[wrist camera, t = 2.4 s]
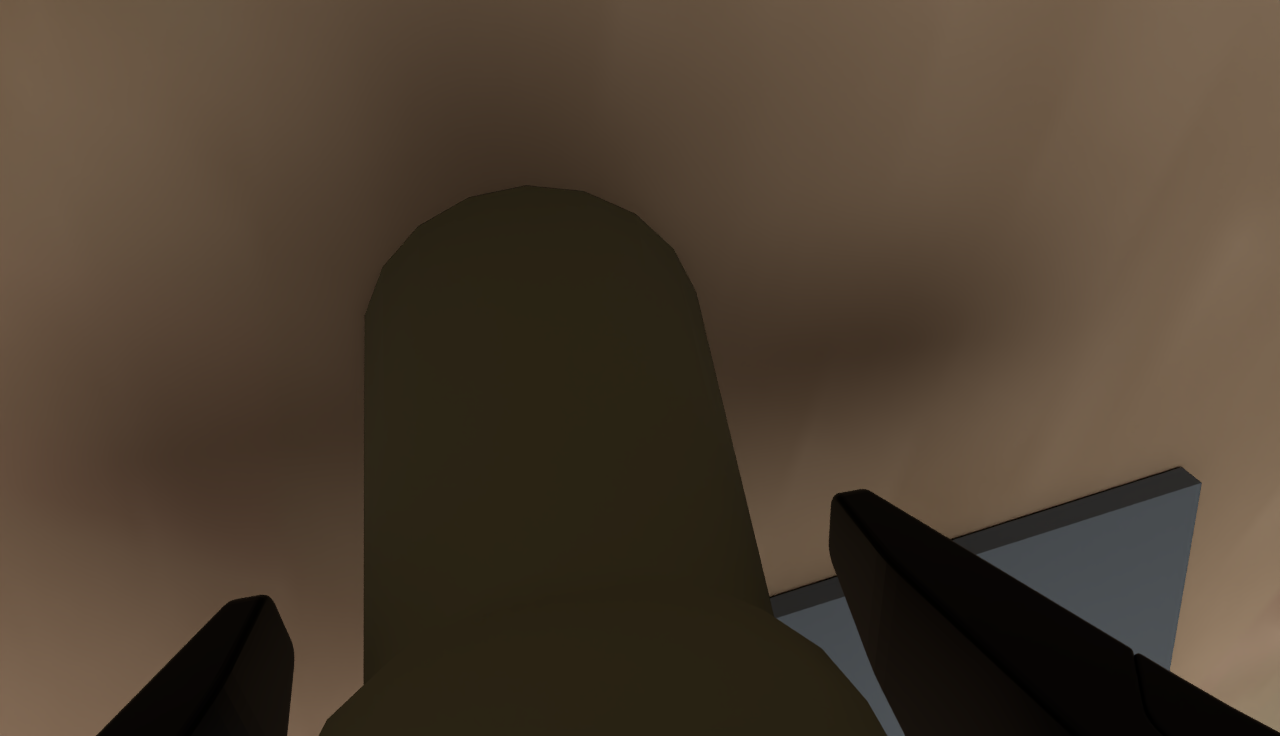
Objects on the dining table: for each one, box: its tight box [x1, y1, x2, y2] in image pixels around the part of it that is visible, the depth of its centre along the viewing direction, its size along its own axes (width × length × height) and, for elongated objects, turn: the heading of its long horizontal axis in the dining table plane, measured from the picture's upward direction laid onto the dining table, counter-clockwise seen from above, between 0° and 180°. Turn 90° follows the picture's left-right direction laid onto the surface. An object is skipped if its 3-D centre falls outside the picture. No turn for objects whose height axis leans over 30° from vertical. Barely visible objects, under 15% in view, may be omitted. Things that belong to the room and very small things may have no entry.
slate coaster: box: [770, 467, 1202, 736], centre depth 21 cm, size 11×11×1 cm
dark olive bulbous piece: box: [319, 186, 887, 736], centre depth 9 cm, size 6×6×11 cm
